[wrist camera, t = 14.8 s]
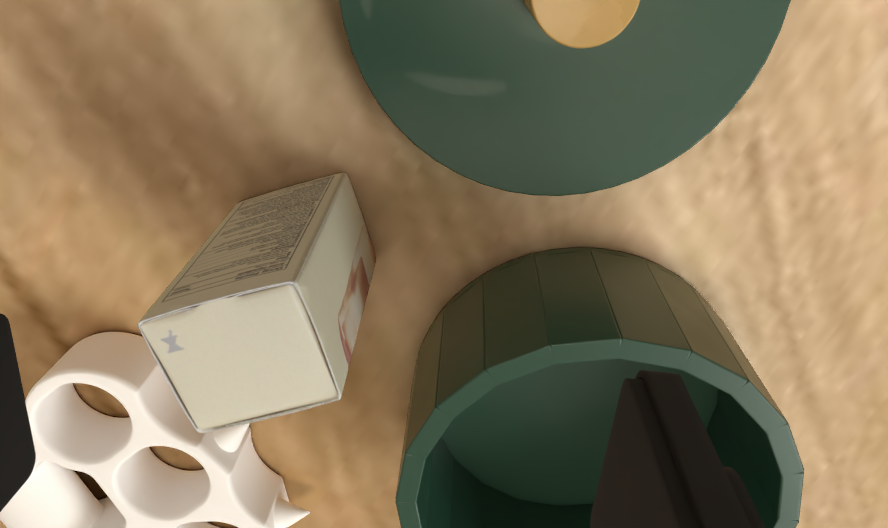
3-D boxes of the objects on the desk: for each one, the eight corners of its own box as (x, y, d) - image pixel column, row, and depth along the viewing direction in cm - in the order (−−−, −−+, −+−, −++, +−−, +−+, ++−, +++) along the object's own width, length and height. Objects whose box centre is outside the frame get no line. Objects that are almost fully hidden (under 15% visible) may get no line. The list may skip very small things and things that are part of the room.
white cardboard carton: (273, 290, 31) (188, 438, 22) (235, 199, 29) (124, 319, 20) (385, 263, 30) (345, 405, 21) (352, 168, 28) (293, 278, 19)
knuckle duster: (-59, 389, 34) (197, 294, 31) (142, 628, 41) (368, 568, 38) (-112, 434, 31) (166, 332, 28) (115, 683, 38) (358, 623, 35)
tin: (358, 322, 31) (325, 429, 24) (674, 192, 28) (737, 274, 21) (491, 542, 36) (494, 679, 30) (769, 454, 33) (844, 586, 26)
